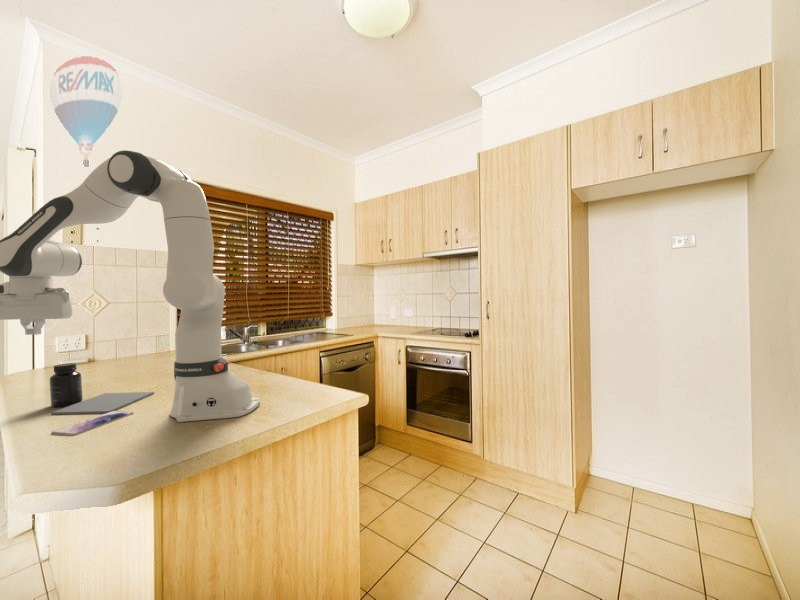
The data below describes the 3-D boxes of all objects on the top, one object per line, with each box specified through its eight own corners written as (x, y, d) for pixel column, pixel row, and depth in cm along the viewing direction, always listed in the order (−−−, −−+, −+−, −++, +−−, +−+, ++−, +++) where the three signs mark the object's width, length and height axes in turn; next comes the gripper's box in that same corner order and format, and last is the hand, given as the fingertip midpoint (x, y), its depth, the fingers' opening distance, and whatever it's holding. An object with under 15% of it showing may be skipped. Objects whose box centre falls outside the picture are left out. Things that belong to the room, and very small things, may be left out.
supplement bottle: (69, 400, 106) (68, 361, 105) (88, 401, 105) (87, 362, 104) (43, 407, 99) (42, 366, 99) (63, 408, 98) (62, 367, 98)
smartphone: (134, 412, 93) (73, 434, 79) (135, 415, 93) (73, 438, 79) (113, 410, 95) (49, 432, 80) (113, 413, 95) (49, 435, 80)
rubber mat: (154, 393, 112) (154, 392, 112) (109, 413, 94) (109, 411, 94) (105, 394, 111) (105, 393, 111) (51, 414, 93) (51, 412, 93)
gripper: (77, 287, 104) (79, 332, 105) (8, 288, 103) (9, 333, 104) (57, 287, 98) (59, 335, 98) (-17, 288, 97) (-15, 336, 97)
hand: (33, 334), depth 101 cm, fingers closed
